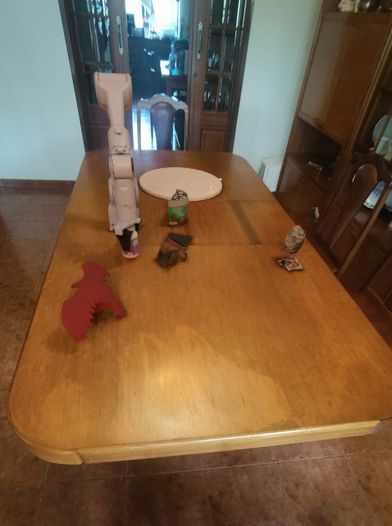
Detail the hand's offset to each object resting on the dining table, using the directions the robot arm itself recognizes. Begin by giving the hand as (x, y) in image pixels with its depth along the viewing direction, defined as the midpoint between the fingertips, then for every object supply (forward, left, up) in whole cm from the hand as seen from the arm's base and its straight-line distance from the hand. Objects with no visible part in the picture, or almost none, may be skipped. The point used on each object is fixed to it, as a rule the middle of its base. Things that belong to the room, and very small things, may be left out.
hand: (129, 246), depth 100 cm
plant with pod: (+51, +15, -5) cm, 53 cm away
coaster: (+11, +17, -5) cm, 21 cm away
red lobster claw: (+2, -28, -5) cm, 28 cm away
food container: (+8, +32, -5) cm, 33 cm away
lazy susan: (-1, +70, -5) cm, 70 cm away
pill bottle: (0, 0, -3) cm, 3 cm away
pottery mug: (+13, +3, -5) cm, 14 cm away
